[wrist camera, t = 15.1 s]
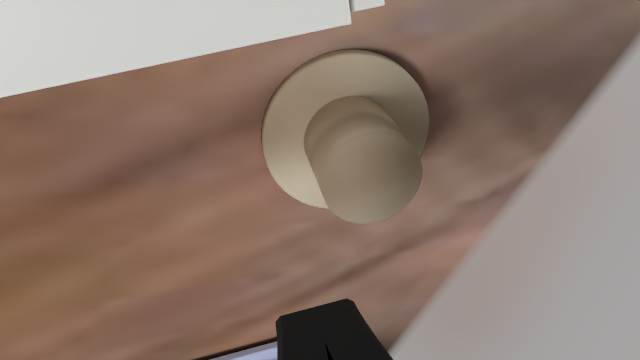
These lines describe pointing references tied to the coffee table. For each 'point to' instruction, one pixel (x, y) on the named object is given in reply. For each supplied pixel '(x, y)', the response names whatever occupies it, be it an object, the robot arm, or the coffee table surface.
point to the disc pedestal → (348, 135)
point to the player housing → (139, 34)
